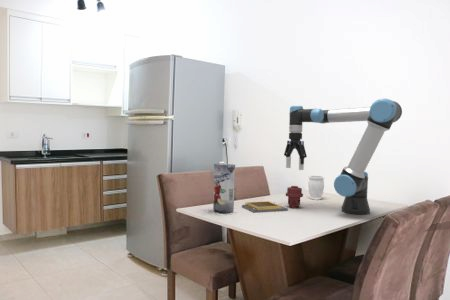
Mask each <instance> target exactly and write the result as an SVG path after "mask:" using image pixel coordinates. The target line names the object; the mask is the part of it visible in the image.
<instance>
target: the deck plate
mask: <svg viewBox="0 0 450 300" xmlns="http://www.w3.org/2000/svg"><path fill="white" fill-rule="evenodd" d="M241 208H243V209H245V210H247V211H250V212H251V213H272V212H288V211H289V209H288V207H286V206H282V205H280V204H277V203H276V202H272V201H247V202H245V203H244V204H241Z"/></svg>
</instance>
